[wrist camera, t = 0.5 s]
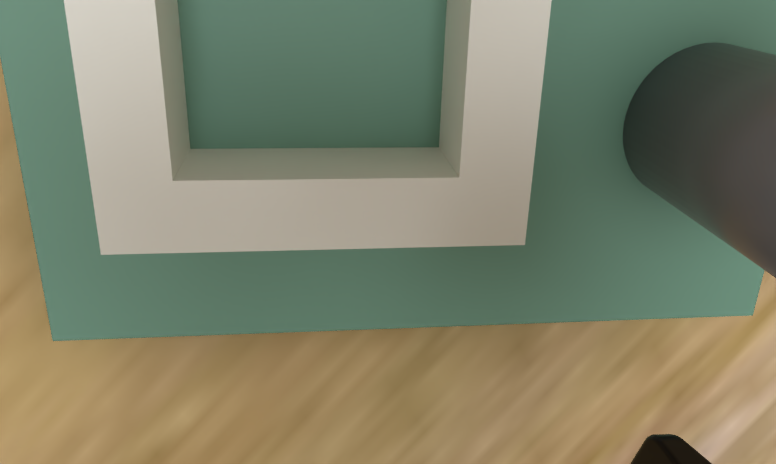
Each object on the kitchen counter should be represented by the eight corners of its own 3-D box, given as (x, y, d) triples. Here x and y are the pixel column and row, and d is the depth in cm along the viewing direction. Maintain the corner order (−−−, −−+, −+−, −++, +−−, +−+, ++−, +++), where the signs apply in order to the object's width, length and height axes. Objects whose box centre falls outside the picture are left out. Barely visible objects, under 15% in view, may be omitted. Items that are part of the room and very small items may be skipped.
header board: (736, 302, 26) (808, 361, 22) (62, 325, 23) (17, 397, 19) (858, -196, 20) (986, -228, 16) (-38, -246, 17) (-132, -298, 13)
